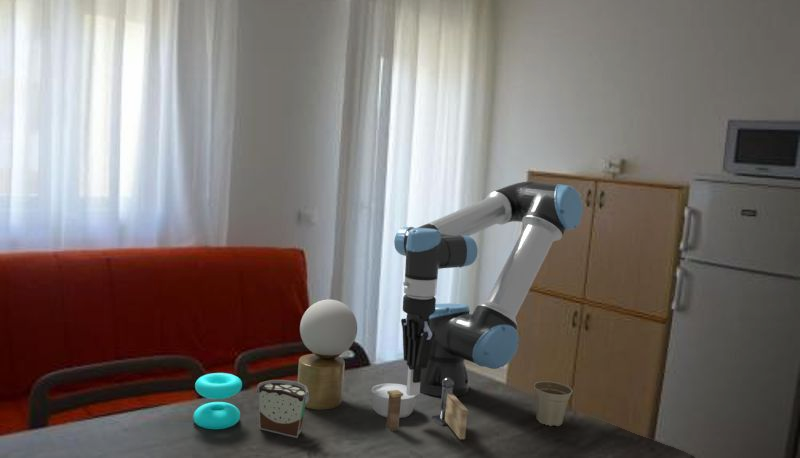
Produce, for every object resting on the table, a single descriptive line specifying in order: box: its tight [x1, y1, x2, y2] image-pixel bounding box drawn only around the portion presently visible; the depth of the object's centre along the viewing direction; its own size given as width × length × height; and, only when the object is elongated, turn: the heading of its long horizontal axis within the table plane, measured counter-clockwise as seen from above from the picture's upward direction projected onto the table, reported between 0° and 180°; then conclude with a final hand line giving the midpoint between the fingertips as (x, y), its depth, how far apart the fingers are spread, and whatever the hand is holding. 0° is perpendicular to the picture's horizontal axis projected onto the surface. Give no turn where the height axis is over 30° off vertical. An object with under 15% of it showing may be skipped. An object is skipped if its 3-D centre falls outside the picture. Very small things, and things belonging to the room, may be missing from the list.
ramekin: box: [371, 383, 418, 419], centre depth 162 cm, size 11×11×5 cm
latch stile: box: [385, 390, 403, 432], centre depth 151 cm, size 3×3×9 cm
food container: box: [255, 379, 309, 439], centre depth 146 cm, size 12×6×10 cm, turn 71°
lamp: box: [297, 299, 358, 411], centre depth 165 cm, size 15×14×25 cm
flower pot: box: [532, 380, 574, 427], centre depth 163 cm, size 9×9×9 cm
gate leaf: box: [445, 393, 469, 440], centre depth 152 cm, size 10×1×7 cm, turn 15°
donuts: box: [193, 372, 243, 430], centre depth 147 cm, size 10×10×10 cm
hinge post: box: [431, 377, 454, 426], centre depth 158 cm, size 4×4×11 cm
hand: (412, 394), depth 156 cm, fingers closed
